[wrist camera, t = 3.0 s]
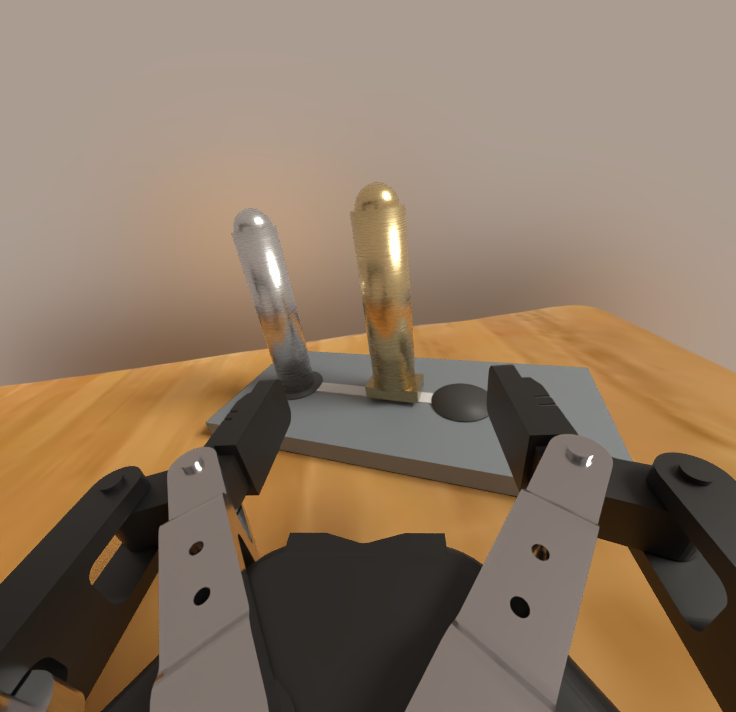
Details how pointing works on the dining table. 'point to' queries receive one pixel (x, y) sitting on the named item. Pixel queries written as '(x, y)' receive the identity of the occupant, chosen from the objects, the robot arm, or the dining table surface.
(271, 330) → the fixed leg
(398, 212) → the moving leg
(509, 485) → the board
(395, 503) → the dining table surface
